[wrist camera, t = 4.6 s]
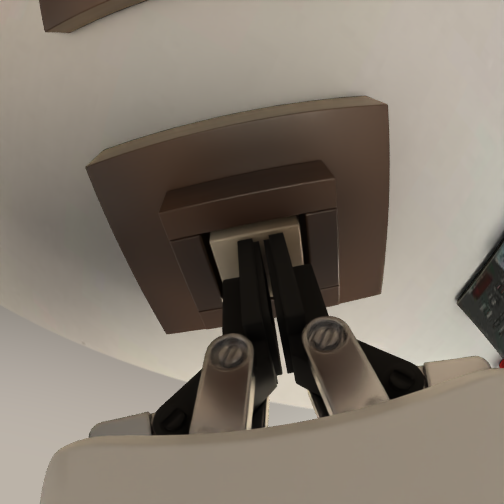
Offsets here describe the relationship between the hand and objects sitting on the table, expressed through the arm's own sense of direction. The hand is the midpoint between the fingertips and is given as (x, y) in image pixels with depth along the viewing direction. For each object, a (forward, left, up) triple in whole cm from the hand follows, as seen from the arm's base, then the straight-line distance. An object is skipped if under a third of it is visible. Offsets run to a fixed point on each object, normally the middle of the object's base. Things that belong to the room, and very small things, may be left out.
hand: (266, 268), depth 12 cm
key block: (0, 0, -4) cm, 4 cm away
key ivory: (0, 0, -2) cm, 2 cm away
